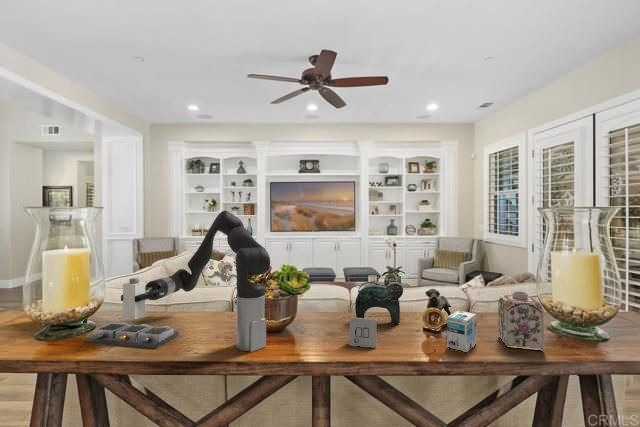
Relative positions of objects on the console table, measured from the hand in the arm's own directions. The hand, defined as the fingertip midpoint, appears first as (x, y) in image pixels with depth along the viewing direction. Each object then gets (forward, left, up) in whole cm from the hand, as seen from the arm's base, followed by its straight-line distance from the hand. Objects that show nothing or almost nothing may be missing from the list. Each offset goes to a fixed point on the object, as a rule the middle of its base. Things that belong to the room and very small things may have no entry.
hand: (128, 298), depth 122 cm
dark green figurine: (-53, -78, -15) cm, 96 cm away
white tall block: (+1, -2, -7) cm, 7 cm away
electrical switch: (-62, -53, -15) cm, 83 cm away
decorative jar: (-102, -91, -15) cm, 138 cm away
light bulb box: (-88, -75, -15) cm, 117 cm away
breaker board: (+1, -2, -15) cm, 15 cm away
